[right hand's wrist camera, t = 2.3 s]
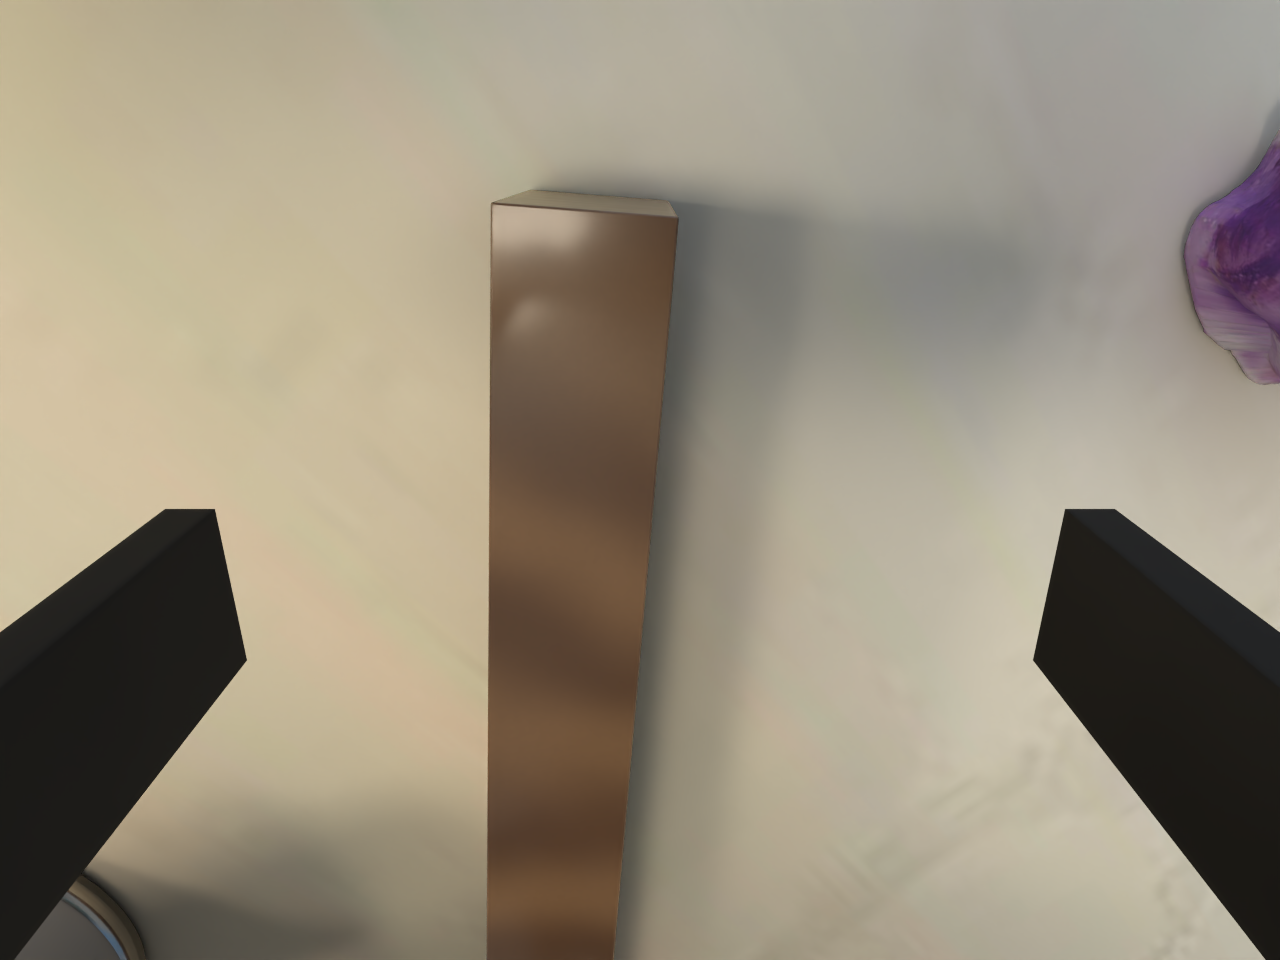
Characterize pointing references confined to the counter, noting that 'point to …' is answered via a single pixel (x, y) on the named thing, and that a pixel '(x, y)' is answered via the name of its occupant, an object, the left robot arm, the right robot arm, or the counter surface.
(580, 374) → the bar
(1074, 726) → the counter surface
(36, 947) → the left robot arm
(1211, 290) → the figurine
